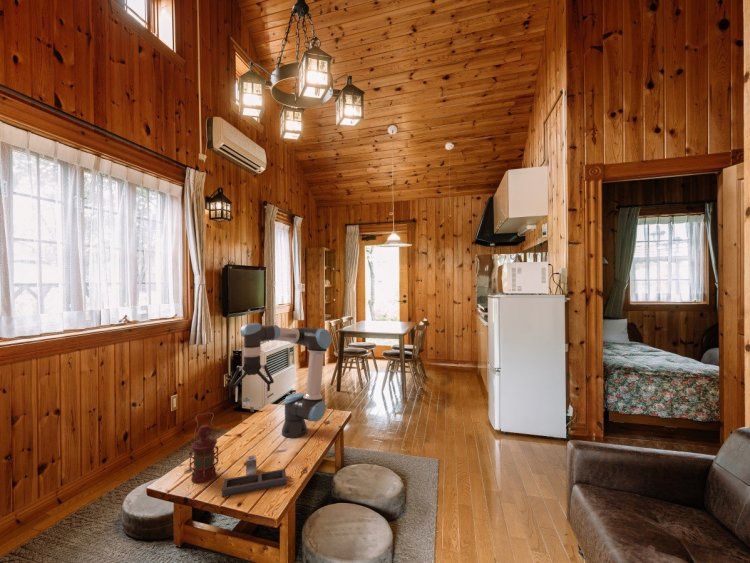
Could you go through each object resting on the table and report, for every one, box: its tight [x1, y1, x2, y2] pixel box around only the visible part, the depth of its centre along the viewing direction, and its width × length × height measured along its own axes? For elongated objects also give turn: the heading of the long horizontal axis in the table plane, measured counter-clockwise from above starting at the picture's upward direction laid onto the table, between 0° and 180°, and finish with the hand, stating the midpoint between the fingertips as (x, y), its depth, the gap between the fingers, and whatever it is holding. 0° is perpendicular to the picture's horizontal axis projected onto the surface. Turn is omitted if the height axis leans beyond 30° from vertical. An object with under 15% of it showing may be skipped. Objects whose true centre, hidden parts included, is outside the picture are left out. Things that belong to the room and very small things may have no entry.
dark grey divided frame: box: [221, 468, 287, 498], centre depth 149 cm, size 26×8×3 cm, turn 109°
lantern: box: [189, 412, 219, 484], centre depth 156 cm, size 12×12×30 cm
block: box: [245, 454, 257, 476], centre depth 160 cm, size 4×4×7 cm
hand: (251, 399), depth 160 cm, fingers open, 13 cm apart
